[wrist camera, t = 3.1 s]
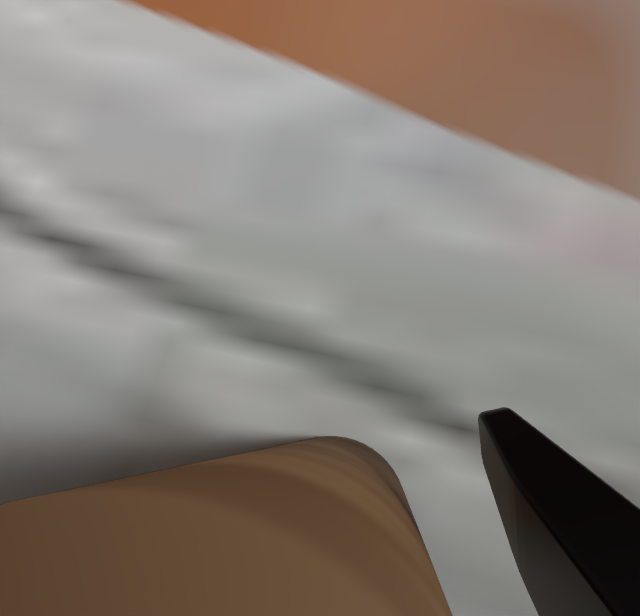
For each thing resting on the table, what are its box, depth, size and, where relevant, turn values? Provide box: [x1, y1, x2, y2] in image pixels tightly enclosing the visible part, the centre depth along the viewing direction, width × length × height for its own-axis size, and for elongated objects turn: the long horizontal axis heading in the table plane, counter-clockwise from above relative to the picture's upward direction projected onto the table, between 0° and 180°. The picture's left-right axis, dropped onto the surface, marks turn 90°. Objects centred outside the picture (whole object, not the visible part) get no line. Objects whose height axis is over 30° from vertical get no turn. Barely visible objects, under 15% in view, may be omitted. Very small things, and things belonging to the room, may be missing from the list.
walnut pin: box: [0, 436, 452, 616], centre depth 8 cm, size 4×4×13 cm
